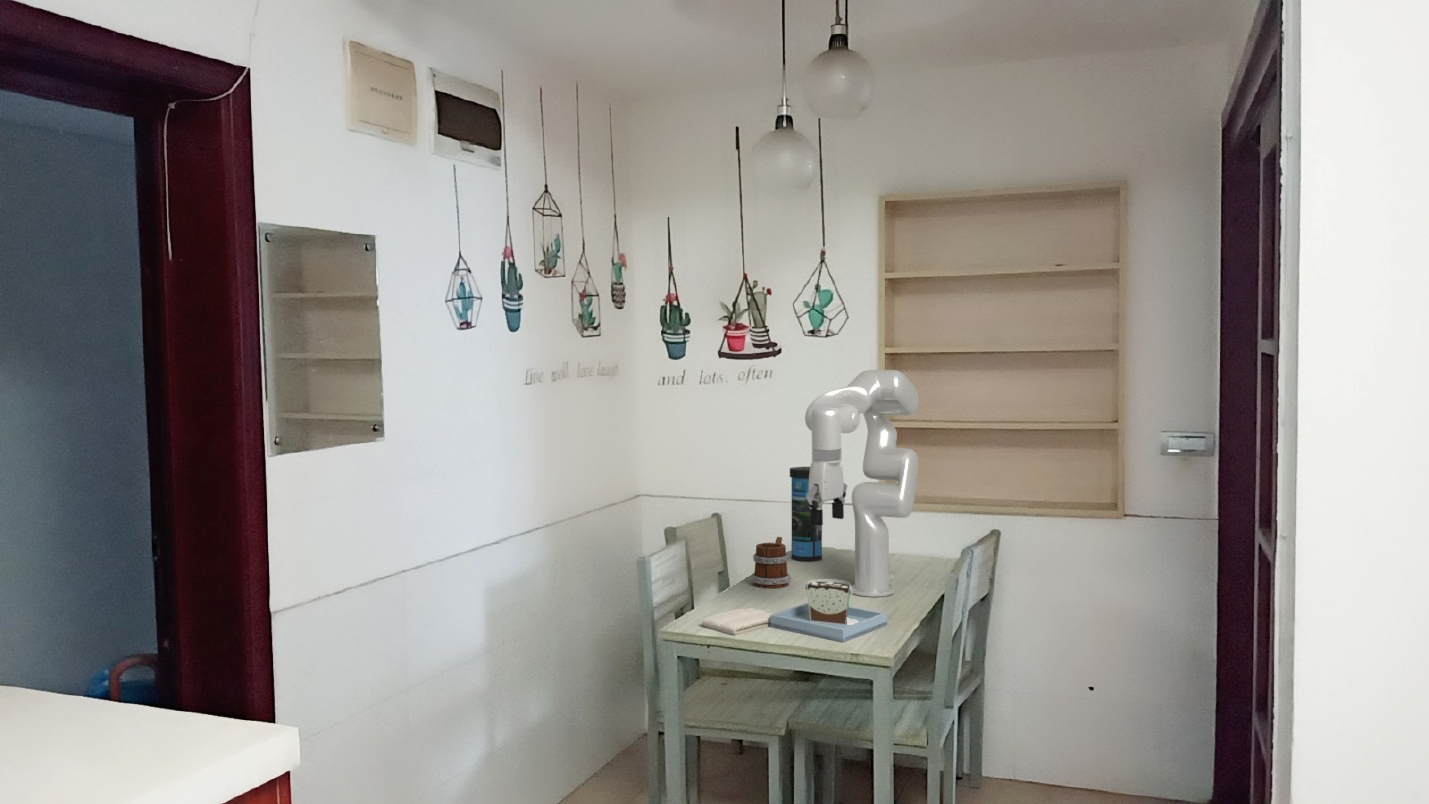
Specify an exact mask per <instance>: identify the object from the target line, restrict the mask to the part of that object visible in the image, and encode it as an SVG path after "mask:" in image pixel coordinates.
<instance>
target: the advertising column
mask: <svg viewBox="0 0 1429 804" xmlns="http://www.w3.org/2000/svg"><path fill="white" fill-rule="evenodd" d="M809 473H810V466H795V467H794V466H793V467H790V468H789V477H790V478H791V560H793V561H797V562H807V563H808V562H810V563H812V562H818V561H822V559H823V525H821V526H820V525H812V524H811V509H810V506H809V504H808V500H807V497H806V494H807V493H808V492H809ZM816 502H817V501H816ZM818 503H819V502H817V504H818ZM821 510H823V506H822V507H821Z"/></svg>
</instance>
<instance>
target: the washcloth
mask: <svg viewBox="0 0 1429 804" xmlns="http://www.w3.org/2000/svg"><path fill="white" fill-rule="evenodd" d="M772 614H773V613H772V612H771V613H770V612H766V611H764V610H763V609H759V608H755V607H748V608H745V609H744V608H741V609H740V608H739V609H737V608H735V609H732V610H730V611H729V610H728V611H725V612H720V613H717V614H714V615H710V616H707V617H705V618H704V619H703V620H702V622H701V624H702V626H703V627H705V628H707V629H710V630H716V631H719V632H721V633H724V634H728V635H731V636H736V635H741V634H745V633H748V632H749V633H750V632H752V631H756V630H761V629H763V628H767V627H770V615H772Z"/></svg>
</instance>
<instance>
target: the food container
mask: <svg viewBox="0 0 1429 804" xmlns="http://www.w3.org/2000/svg"><path fill="white" fill-rule="evenodd" d="M851 586H852V584H851V583H850V582H849V581H847V580H843V579H834V578H833V579H832V578H819V579H811V580H809V581H806V584H805V586H804V591H806V592H807V601H808V602H807V603H809V613H810V621H812V622H821V623H830V624H840V625H846V624H847V617H848V607H850V596H851V595H853V592H852V587H851ZM850 591H851V592H850Z"/></svg>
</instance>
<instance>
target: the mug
mask: <svg viewBox="0 0 1429 804" xmlns="http://www.w3.org/2000/svg"><path fill="white" fill-rule="evenodd" d="M782 541H783V537H782V536H777V537H776V538H775V542H762V543H758V544H756V547H755V553H754V554H753V556H752V559H753V560H752V561H753V562H754V573H752V574H751V581H752V585H753V586H755V587H757V588H760V589H770V590H771V589H772V590H773V589H782V588H786V587H788V586H789V583H790V582H791V579H792V576H790V575H791V574H790V573H788V563H787V562H789V560H790V556H789V554H787V549H786V544H784V543H782Z"/></svg>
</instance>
